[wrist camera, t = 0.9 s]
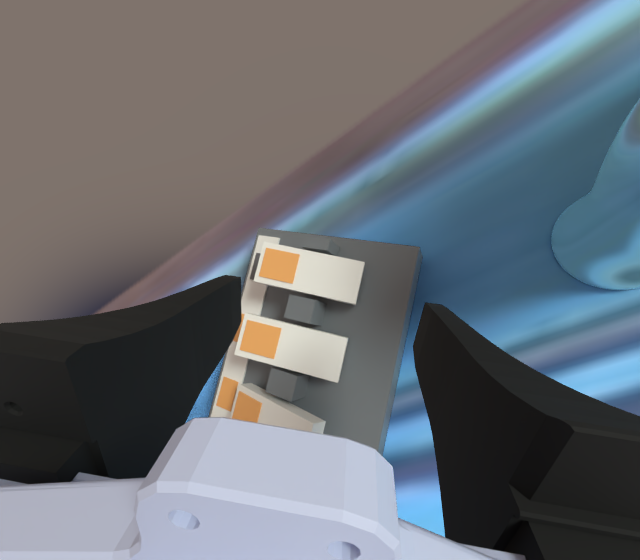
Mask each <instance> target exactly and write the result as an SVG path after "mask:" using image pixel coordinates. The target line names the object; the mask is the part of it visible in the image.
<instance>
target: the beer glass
mask: <svg viewBox="0 0 640 560" xmlns="http://www.w3.org/2000/svg"><path fill="white" fill-rule="evenodd" d="M551 245H552V250H553V253H554V256H555V258H556V259H557V261H558V263H559V264H560V265H561V267H562V268H563V269H564V270H565V271H566V272H567V273H569V274H570V275H571V276H573V277H574V278H576V279H577V280H579V281H581V282H583V283H586V284H588V285H591V286H594V287H598V288H602V289H609V290H629V289H636V288H640V99H639V100H638V101H637V103H636V104H635V106H634V107H633V109H632V110H631V111H630V113H629V114H628V116H627V117H626V118H625V120H624V122H623V123H622V125H621V127H620V129H619V131H618V133H617V135H616V136H615V138H614V140H613V142H612V144H611V146H610V148H609V150H608V152H607V154H606V156H605V159H604V161H603V163H602V166H601V168H600V171H599V173H598V176H597V178H596V181H595V183H594V186H593V188H592V190H591V192H590V193H589V194H587V195H585V196H583V197H582V198H580V199H578V200H577V201H575V202H574V203H573V204H571V205H570V206H569V207H567V208H566V209H565V210H564V211H563V212H562V214H561V215H560V216H559V217H558V219H557V221H556V222H555V225H554V227H553V230H552V236H551Z"/></svg>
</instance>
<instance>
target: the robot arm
mask: <svg viewBox="0 0 640 560" xmlns="http://www.w3.org/2000/svg"><path fill="white" fill-rule="evenodd" d="M241 321H242V315H241V277H236V276H228V275H224V276H221V277H218V278H215V279H212V280H210V281H207V282H205V283H202V284H200V285H197V286H195V287H192V288H190V289H187V290H184V291H182V292H179V293H176V294H173V295H170V296H168V297H165V298H162V299H159V300H156V301H152V302H149V303H145V304H142V305H138V306H134V307H130V308H126V309H120V310H115V311H110V312H105V313H100V314H95V315H88V316H82V317H73V318H66V319H57V320H44V321H30V322H16V323H1V324H0V560H640V416H637V415H634V414H632V413H629V412H626V411H624V410H621V409H618V408H616V407H613V406H610V405H608V404H606V403H603V402H601V401H599V400H596V399H594V398H592V397H589V396H587V395H585V394H582V393H580V392H578V391H576V390H574V389H571V388H569V387H567V386H565V385H563V384H561V383H559V382H557V381H555V380H553V379H551V378H549V377H547V376H545V375H543V374H541V373H540V372H538V371H536V370H534V369H532V368H531V367H529V366H527V365H525V364H524V363H522V362H520V361H519V360H517V359H515V358H514V357H512V356H511V355H509V354H507V353H506V352H504V351H503V350H501V349H500V348H499V347H497V346H496V345H494V344H493V343H491V342H490V341H489V340H487V339H486V338H484V337H483V336H482V335H480V334H479V333H478V332H477V331H475V330H474V329H473V328H471V327H470V326H469V325H468V324H466V323H465V322H464V321H463V320H461V319H460V318H459V317H458V316H456V315H455V314H454V313H453V312H451V311H450V310H449V309H447V308H446V307H444V306H443V305H440V304H433V303H425V305H424V308H423V312H422V315H421V319H420V323H419V326H418V330H417V334H416V337H415V341H414V345H413V351H414V360H415V368H416V372H417V376H418V380H419V384H420V388H421V391H422V395H423V399H424V402H425V406H426V410H427V413H428V417H429V421H430V425H431V430H432V435H433V442H434V448H435V455H436V461H437V469H438V476H439V484H440V492H441V501H442V510H443V519H444V529H445V537H443V536H440V535H438V534H435V533H433V532H431V531H428V530H426V529H424V528H421V527H419V526H416V525H414V524H412V523H409V522H407V521H405V520H402V519H400V518H398V514H397V503H396V493H395V483H394V474H393V467H392V466H391V465H390V464H389V463H388V462H387V461H386V460H385V459H384V458H383V457H382V456H381V455H380V454H379V453H378V452H377V451H376V450H375V449H374V448H372V447H370V446H368V445H365V444H362V443H359V442H357V441H354V440H351V439H348V438H345V437H339V436H333V435H327V434H321V433H315V432H309V431H304V430H298V429H292V428H286V427H280V426H274V425H268V424H262V423H256V422H250V421H244V420H238V419H232V418H226V417H205V418H194V419H192V420H190V421H189V422H187V423H186V424H185V422H186V420H187V418H188V416H189V414H190V412H191V410H192V408H193V406H194V404H195V402H196V400H197V398H198V396H199V394H200V392H201V390H202V389H203V387H204V385H205V383H206V382H207V380H208V379H209V377H210V376H211V374H212V373H213V371H214V370H215V368H216V366H217V365H218V363H219V362H220V360H221V359H222V357H223V356H224V354H225V352H226V351H227V349H228V348H229V346H230V345H231V343H232V341H233V339H234V337H235V335H236V333H237V331H238V328H239V326H240V324H241Z"/></svg>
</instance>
